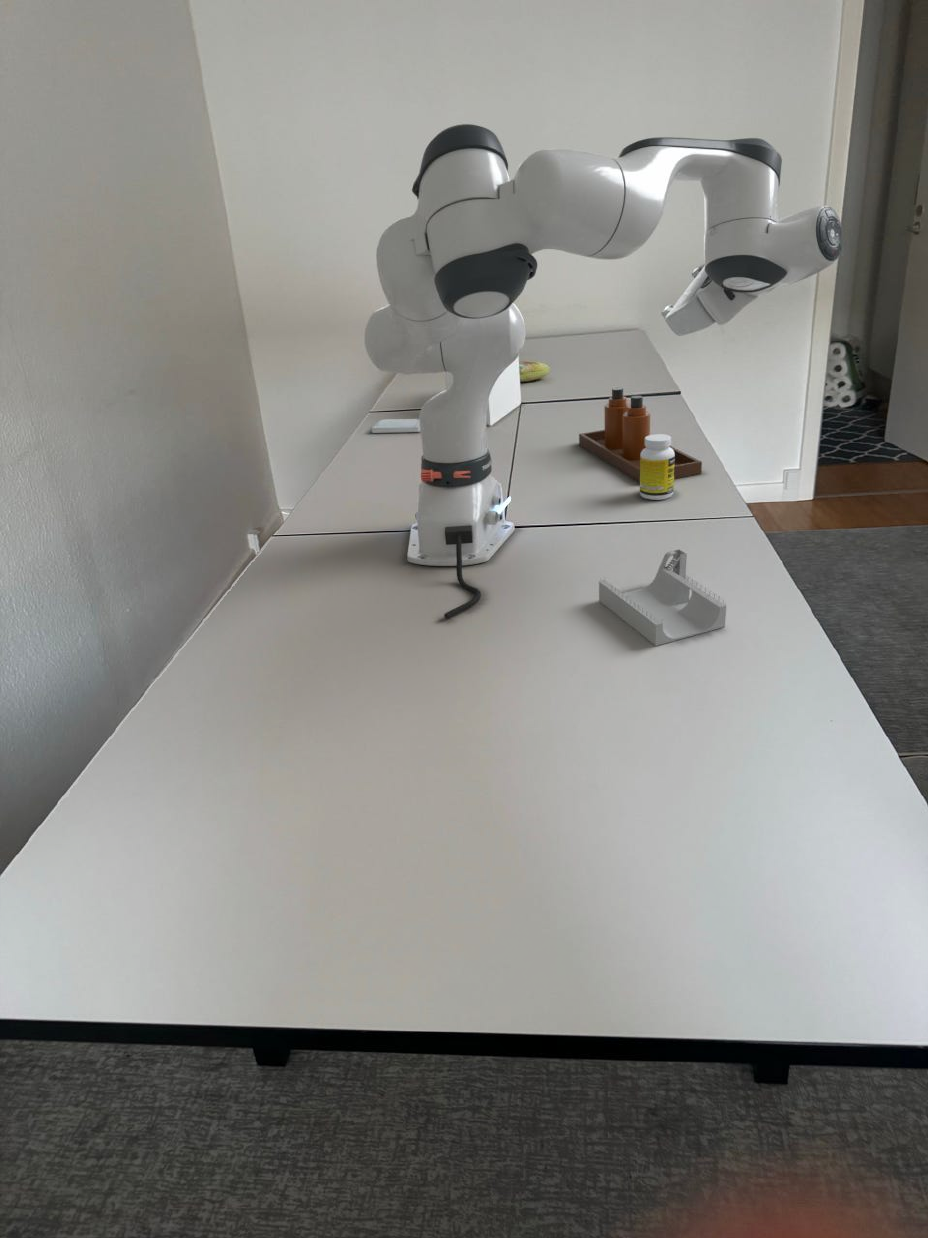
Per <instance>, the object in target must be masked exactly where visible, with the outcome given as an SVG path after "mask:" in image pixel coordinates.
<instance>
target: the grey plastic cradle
mask: <svg viewBox="0 0 928 1238" xmlns="http://www.w3.org/2000/svg"><path fill="white" fill-rule="evenodd" d="M687 555H688V554H687V553H686V552H685V551H684V550H682V549H674V550H670V551H667V552H666V553H665V554H664V556H663V558H662V560H661V563H660V565H659V568H658V570H657V572H656V575H655V577H654V579H653V580H652V582H650V583H649V584H648V585H647V586H644V587H641V588H638V589H633V590H629V591H626V592H622V591H621V590H619V589H618V588H617V587H615V586H614V585H612V584H611V583H610V582H608V581H607V580H606V579H605V577H602V578H601V580H599V581H598V601H599V602H600V603H601V604H602V605H604V606H605V607H606V608H608V609H609V610H610V611H611V612H612V613H614V614H615V615H616V616H617V617H618V618H620V619H621V620H622V621H624V622H625V623H626V624H627V625H628V626H630V628H632V629H633V630H635V631H636V632H637V633H639V634H640V635H641V636H643V637H644V638H645V639H646V640H647V641H649V642H650V643H651V645H653V646H655V647H657V646H661V645H665V644H668V643H673V642H676V641H679V640H682V639H687V638H691V637H693V636H698V635H701V634H705V633H708V632H711V631H712V632H713V631H715V630H718V629H722V628H725V627H726V617H727V604H725V599H724V598H723V597H721V596H719V595H718V594H716V593H714V592H713V591H711V590H710V589H708V587H705V586H704V585H701V583H699V582H698V581H695V580H694V579H692V578H691V577H689V576H688V575H687V558H688V557H687ZM671 557H672V558H671ZM670 558H671V560H670V561H669V559H670ZM668 561H669V563H668ZM698 584H699V586H700V587H699V586H697V585H698ZM690 590H691V591H690ZM690 592H691V595H690ZM712 593H713V594H712ZM721 601H722V602H721Z"/></svg>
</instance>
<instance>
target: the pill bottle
mask: <svg viewBox="0 0 928 1238" xmlns="http://www.w3.org/2000/svg"><path fill="white" fill-rule="evenodd" d="M645 446H646V448H645V449H643V450H642V452H641V454H640V482H639V495H640V496H641V497H642V498H643V499H646V500H651V501H661V500H667V499H669V498H671V497H672V496H673V495H674V490H675V489H674V488H675V484H674V483H675V479H674V461H675V453H674V451H673V449H672V448H670V447H669V446H672V437H671V436H670V435H669V434H664V433H663V434H662V433H656V434H654V433H653V434H650V435H649V436H646V437H645Z"/></svg>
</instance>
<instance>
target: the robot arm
mask: <svg viewBox="0 0 928 1238" xmlns="http://www.w3.org/2000/svg"><path fill="white" fill-rule="evenodd" d="M782 163H783V159H782V155H781V154H780V152H778V151H777V149H775V147H774V146H773V145H772V144H770V143H769V142H768V141H766V140H765V139H763V138H758V137H747V138H738V139H737V138H736V139H727V140H724V139H708V138H706V139H705V138H693V137H692V138H691V137H673V136H671V137H667V136H664V137H659V136H658V137H649V138H644V139H640V140H636V141H634V142H632V143H630V144H628V145H627V146H626V147H624V148H623V149H621V151H620V153H619V155H618V157H611V156H607V155H603V154H599V153H595V152H589V151H584V150H575V149H563V148H561V149H560V148H546V149H540V150H536V151H534V152H533V153H531V154H530V155H528V156H526V158H524V160H522V161H521V163H520V164H519V165H518V167H517V169H516V171H515V173H514V174H513V177H512V179H510V176H509V174H508V171H509V163H508V159H507V156H506V153H505V149H504V147H503V145H502V143H501V141H500V140H499V138H498V136H497V135H496V134H495V132H493V131H492V130H491V129H489V128H487V127H484V126H481V125H477V124H473V123H471V124H470V123H461V124H456V125H451V126H450V127H447V128H444V129H443V130H441V131H440V132H438V133H437V134H436V136H435V137H434V138H432V140H431V141H430V142H429V143H428V145H427V146H426V148H425V150H424V152H423V156H422V158H421V163H420V167H419V172H418V174H417V177H416V179H415V180H414V182H413V185H412V188H411V191H412V194H414V195H415V197H416V199H417V206H416V210H415V211H414V213H413V214H412V215H409V216H405V217H401V218H399V219H397V220H395V221H393V222H392V223H391V224H389V225H388V226H387V227H386V228H385V229H384V230H383V232H382V234H381V235H380V237H379V239H378V241H377V246H376V251H375V253H376V254H375V257H376V268H377V274H378V279H379V283H380V287H381V289H382V292H383V294H384V297H385V298H386V300H387V303H388V304H387V305H384V306H383V307H381V308H379V309H376V310H374V311H373V313H371V315H370V316H369V318H368V321H367V323H366V326H365V329H364V346H365V350H366V353H367V356H368V358H369V359H370V361H371V362H372V364H373V365H374V366H375V367H376V368H377V370H379V371H381V372H385V373H386V372H387V373H392V374H400V375H409V376H410V375H422V374H423V375H424V374H437V373H438V374H439V373H445V372H450V373H452V375H453V383H452V384H451V385H450V386H449V387H448V388H447V389H446V388H445V389H443V390H441V391H440V392H438V393H437V394H434V396H432V397H431V398H429V399H428V400H427V401H425V403H424V404H423V405H422V407H421V409H420V411H419V418H418V419H419V421H420V430H421V431H420V439H421V447H422V455H421V462H420V481H421V482H420V484H419V485H418V493H419V494H418V504H417V512H415V514H414V515H415V519H416V521H417V522H415V523H413V524H412V525H411V526H410V531H409V538H408V539H409V540H408V546H407V553H406V561H407V562H409V563H411V564H415V565H422V566H430V567H431V566H432V567H456V578H457V582H458V583H459V585H460V586H461V587H462V588H463V589H464V590H466V591H468V592H470V593H473V594H474V597H473V598H471V599H470V600H468V601H467V602H465V603H463V604H460V605H459V606H457V607H455V608H453V609H451V610H449V611H446V613H444V615H443V616H444V618H445V619H446V620H448V619H450V618H452V617H453V616H455V615H457V614H459V613H462V612H464V611H466V610H467V609H469V608H472V607H473V606H475V605H476V604H477V603H478V602H479V601H480V599H481V597H482V593H481V590H480V589H478V588H476V587H474V586H471V585H469V584H468V583H466V582H465V580H464V577H463V566H470V565H478V564H482V563H486V562H488V561H489V560H491V558H492V557H493V556H494V555H495V554H496V553H497V551H498V550H499V549H500V548H501V547H502V545H504V543H505V542H506V541H507V540H508V539H509V538H510V537H511V535H512V534H513V533H514V531H515V530H516V528H515V523H514V522H512V521H509V520H506V516H505V508H506V507H507V506H508V504H509V503H510V502H511V500H512V498H511V496H509V497H507V499H506V500H505V501H504V498H503V496H504V495H503V488H502V484H501V483H500V482H499V481H498V480H496V478H495V477H494V476H493V475H492V457H491V452H490V449H489V448H488V439H487V437H488V436H487V435H488V434H487V425H486V412H487V404H488V399H489V396H490V393H491V390H492V388H493V386H494V384H495V382H496V380H497V379H498V378H499V376H500V375H501V374H502V372H503V371H504V370H505V369H506V368H507V367H508V366H509V365H510V364H512V363H513V362H514V361H515V360H516V358H517V357H518V356H519V357H520V354H521V353H522V350H523V348H524V345H525V342H526V333H527V332H526V331H527V330H526V324H525V319H524V317H523V315H522V313H521V311H520V309H519V308H518V306H517V305H516V304H515V301H517V299H518V298H519V297H520V296H521V294H522V293H523V292H524V289H525V286H526V284H527V282H528V281H529V280H531V279H533V278H534V277H535V276H536V273H537V270H538V261H537V259H536V257H535V256H534V255H533V254H534V253H535V254H536V253H537V252H540V251H543V250H554V251H561V252H565V253H569V254H572V255H576V256H581V257H586V258H591V259H595V260H604V261H606V260H608V261H609V260H610V261H611V260H612V261H613V260H621V259H624V258H627V257H629V256H631V255H633V254H634V253H636V252H637V251H639V250H640V249H641V248H642V247H643V246H644V245H645V244H646V243H647V242H648V241H649V240H650V239H651V237H652V236H653V234H654V233H655V231H656V230H657V228H658V226H659V225H660V222H661V220H662V217H663V215H664V212H665V209H666V204H667V200H668V196H669V192H670V189H671V186H672V183H673V181H684V182H685V181H686V182H699V184H700V187H701V189H702V194H703V200H704V235H703V263H702V264H700V265H698V266H696V267H695V269H694V270H693V272H692V273H691V276H692V277H693V280H692V282H691V283H690V284H689V286H688V287H687V288H686V290H684V292H683V294H681V296H680V297H679V299H677V301H676V303H675V304H673V303H672V304H669V305H667V306H666V307H665V308H664V309H663V310H662V311H661V316H662V317H663V318H664V320H665V323H666V324H667V326H668V327H669V328H670V330H671V331H672V332H673V333H674V334H675V335H676V336H679V337H682V336H686V335H690V334H693V333H697V332H699V331H703V330H704V329H707V328H710V327H711V326H713V325H714V324H715V323H717V325H718V326H722V325H725V324H727V323H729V322H730V321H731V320H732V319H733V318H734V317H735V316H736V315H738V314H739V312H741V311H742V310H743V309H744V308H745V307H746V306H747V305H749V304H750V303H752V302H754V301H755V300H756V299H758V297H759V296H761V295H764V294H768V293H770V292H772V291H773V290H774V289H775V288H777V287H779V286H780V287H781V286H783V287H784V286H789V285H793V284H795V283H797V282H798V283H799V282H801V281H803V280H805V279H808V278H809V277H812V276H814V275H816V274H818V273H820V272H822V271H823V270H825V269H827V268H829V267H831V266H832V265H833V264H835V262H836V261H838V258H839V257H840V255H841V252H842V249H843V226H842V222H841V220H840V216H839V215H838V213H837V212H836V211H835V209H834V208H832V207H831V206H829V205H820V206H815V207H810V208H808V209H804V210H801V211H798V212H795V213H793V214H790V215H787V216H785V217H782V218H779V199H780V198H779V194H780V193H779V192H780V191H779V190H780V189H779V188H780V185H781V173H782V166H783V165H782Z"/></svg>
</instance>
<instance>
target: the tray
mask: <svg viewBox="0 0 928 1238" xmlns="http://www.w3.org/2000/svg"><path fill="white" fill-rule="evenodd" d="M578 445H579V446H581V447H582V448H584V449H585V450H587V451H589V452H590V453H592V454H593V455H595V456H596V457H599V458H600V459H602V460H603V461H604V462H606V463H608V464H610V465H611V466H613V467H614V468H616V469H618V470H619V471H621V472H623V473H624V474H626V475H627V476H628V477H631V478H632V479H634V480H635V481H637V482H639V483H640V460H629V459H625V458H623V449H609V448H606V447H605V429H601V430H595V431H587V432H583V433H579V434H578ZM669 447H670V448H672V449H673V451H674V453H675V461H674V480H676V479H682V478H686V477H691V476H698V475H702V469H703V468H702V467H703V461H701V460H699V459H697V458H695V457H694V456H691V455H689V454H687V453H685V452H683V451H681V450H679V449H678V448H675V447H673V446H672V445H670V446H669Z"/></svg>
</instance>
